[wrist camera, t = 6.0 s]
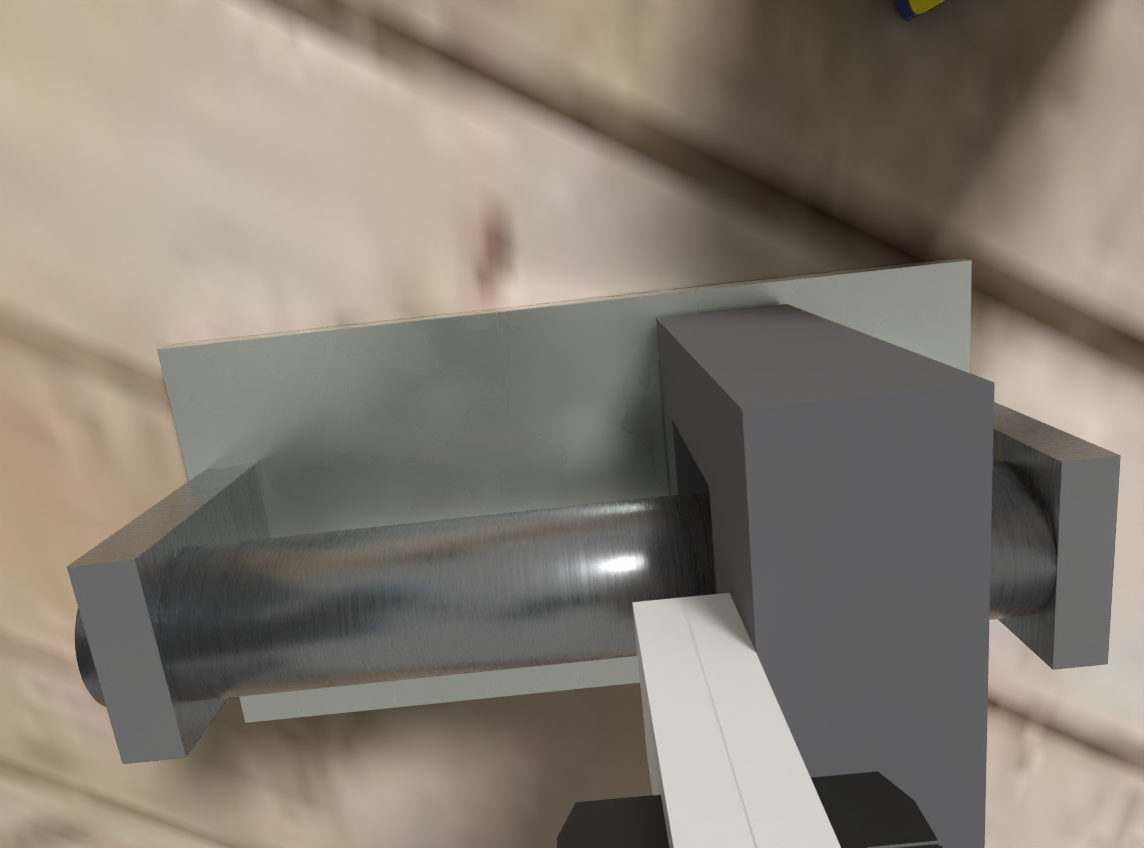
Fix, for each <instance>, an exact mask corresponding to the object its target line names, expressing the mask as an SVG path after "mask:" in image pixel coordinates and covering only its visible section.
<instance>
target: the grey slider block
mask: <svg viewBox="0 0 1144 848" xmlns="http://www.w3.org/2000/svg"><path fill="white" fill-rule="evenodd" d="M656 322H657V334H658V347H659V359H660V371H661V383H662V395H663V407H664V420H665V432H666V444H667V456H668V468H669V481H670V493H671V495H680V494H689V493H699V492H708V491H710V505H711V520H712V534H713V548H714V563H715V577H716V592H717V594H722V593H730V595H731V597H732V600H733V602H734V604H735V606H736V609H737V611H738V613H739V615H740V617H741V620H742V622H743V624H744V626H745V629H746V631H747V633H748V635H749V638H750V640H751V642H752V644H753V647H754V649H755V651H756V654H757V656H758V658H759V661H760V663H761V665H762V667H763V670H764V672H765V674H766V677H767V679H768V681H769V683H770V686H771V688H772V690H773V693H774V695H775V697H776V700H777V702H778V704H779V706H780V709H781V711H782V713H783V716H784V718H785V720H786V722H787V725H788V727H789V729H790V732H791V734H792V736H793V739H794V741H795V743H796V745H797V748H798V750H799V752H800V755H801V757H802V759H803V762H804V764H805V766H806V768H807V771H808V773H809V775H810V778H811V777H822V776H833V775H843V774H854V773H865V772H875V771H878V772H880V773H881V774H882V775H883V776H885V777H886V778H887V779H888V780H890V781H891V782H892V783H893V784H894V785H896V786H897V787H898V788H899V789H901V790H902V791H903V792H904V793H906V794H907V795H908V796H909V797H911V798H912V799H913V800H914V801H915V802H916V804H917V805H918V807H919V809H920V810H921V812H922V814H923V815H924V817H925V819H926V821H927V822H928V824H929V826H930V827H931V829H932V831H933V832H934V834H935V836H936V837H937V841H938V844H939V846H942V847H943V848H984V845H985V798H986V751H987V703H988V656H989V609H990V562H991V514H992V467H993V420H994V382H991V381H989V380H986V379H983V378H981V377H978V376H976V375H973V374H970V373H968V372H965V371H962V370H960V369H957V368H954V367H952V366H949V365H947V364H944V363H941V362H939V361H936V360H933V359H931V358H928V357H925V356H923V355H920V354H918V353H915V352H912V351H910V350H907V349H904V348H902V347H899V346H896V345H894V344H891V343H889V342H886V341H883V340H881V339H878V338H875V337H873V336H870V335H867V334H865V333H862V332H860V331H857V330H854V329H852V328H849V327H846V326H844V325H841V324H838V323H836V322H833V321H831V320H828V319H825V318H823V317H820V316H817V315H815V314H812V313H809V312H807V311H804V310H802V309H799V308H796V307H794V306H791V305H788V304H781V305H772V306H763V307H753V308H744V309H735V310H726V311H717V312H708V313H698V314H689V315H680V316H671V317H662V318H656Z"/></svg>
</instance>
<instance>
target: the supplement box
mask: <svg viewBox="0 0 1144 848" xmlns="http://www.w3.org/2000/svg"><path fill="white" fill-rule="evenodd" d="M943 1H945V0H895V2H896V5H897V8H898V10H899V12H900V15H901V17H902V18H903V19H904V20H906V21H908V20H911V19H913V18H915V17H917V16H918V15H920V14H922V13H924V12H926V11H927V10H929V9H931V8H933V7H934V6H936V5H938V4H940V3H941V2H943Z"/></svg>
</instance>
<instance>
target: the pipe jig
mask: <svg viewBox="0 0 1144 848" xmlns="http://www.w3.org/2000/svg"><path fill="white" fill-rule="evenodd" d="M971 266H972V260H965V259H946V260H937V261H928V262H919V263H910V264H901V265H892V266H882V267H873V268H864V269H855V270H846V271H837V272H828V273H819V274H809V275H800V276H791V277H782V278H773V279H764V280H755V281H746V282H736V283H727V284H718V285H709V286H700V287H691V288H682V289H673V290H663V291H654V292H645V293H636V294H627V295H618V296H609V297H600V298H590V299H581V300H572V301H563V302H554V303H545V304H536V305H527V306H517V307H508V308H499V309H490V310H481V311H472V312H463V313H454V314H444V315H435V316H426V317H417V318H408V319H399V320H390V321H381V322H371V323H362V324H353V325H344V326H335V327H326V328H317V329H308V330H298V331H289V332H280V333H271V334H262V335H253V336H244V337H234V338H225V339H216V340H207V341H198V342H189V343H180V344H172V345H169V346H166V347H163V348H160V349H157V351H158V355H159V359H160V363H161V368H162V372H163V376H164V380H165V384H166V389H167V393H168V397H169V401H170V406H171V410H172V414H173V418H174V423H175V427H176V431H177V435H178V440H179V444H180V448H181V452H182V457H183V461H184V465H185V469H186V474H187V478H188V482H187V483H186V484H184V485H183V486H181V487H180V488H178V489H177V490H176V491H174V492H173V493H171V494H170V495H169V496H167V497H166V498H164V499H163V500H161V501H160V502H159V503H157V504H156V505H154V506H153V507H151V508H150V509H149V510H147V511H146V512H144V513H143V514H141V515H140V516H139V517H137V518H136V519H134V520H133V521H131V522H130V523H129V524H127V525H126V526H124V527H123V528H121V529H120V530H119V531H117V532H116V533H114V534H113V535H111V536H110V537H109V538H107V539H106V540H104V541H103V542H102V543H100V544H99V545H97V546H96V547H94V548H93V549H92V550H90V551H89V552H87V553H86V554H84V555H83V556H82V557H80V558H79V559H77V560H76V561H74V562H73V563H72V564H70V565H69V566H67V569H68V572H69V576H70V579H71V583H72V586H73V590H74V593H75V597H76V601H77V604H78V611H77V616H76V625H75V649H76V657H77V662H78V667H79V671H80V674H81V676H82V679H83V682H84V684H85V686H86V688H87V689H88V691H89V692H90V694H91V695H92V696H93V698H94V699H95V700H96V701H97V702H99V703H100V704H101V705H103V706H105V707H107V710H108V714H109V717H110V721H111V724H112V728H113V732H114V735H115V739H116V742H117V746H118V749H119V753H120V756H121V760H122V763H123V764H128V763H137V762H147V761H157V760H167V759H177V758H186V757H187V756H188V754H189V753H190V751H191V750H192V748H193V747H194V746H195V744H196V743H197V741H198V740H199V738H200V737H201V736H202V734H203V733H204V731H205V730H206V728H207V727H208V726H209V724H210V723H211V721H212V720H213V718H214V717H215V716H216V714H217V713H218V711H219V710H220V708H221V707H222V706H223V704H224V703H225V701H226V700H227V698H232V697H239V698H240V702H241V707H242V711H243V715H244V719H245V723H249V722H259V721H269V720H278V719H288V718H298V717H308V716H318V715H327V714H337V713H347V712H357V711H367V710H376V709H386V708H396V707H406V706H416V705H425V704H435V703H445V702H455V701H465V700H474V699H484V698H494V697H504V696H514V695H523V694H533V693H543V692H553V691H563V690H572V689H582V688H592V687H602V686H612V685H621V684H631V683H640V677H639V667H638V656H637V646H636V635H635V625H634V614H633V604H632V602H641V601H651V600H661V599H671V598H682V597H692V596H702V595H712V594H717V592H716V577H715V563H714V548H713V534H712V520H711V505H710V491H708V492H699V493H689V494H680V495H671V493H670V481H669V468H668V456H667V444H666V432H665V420H664V407H663V395H662V383H661V371H660V359H659V347H658V334H657V322H656V318H662V317H671V316H680V315H689V314H698V313H708V312H717V311H726V310H735V309H744V308H753V307H763V306H772V305H781V304H788V305H791V306H794V307H796V308H799V309H802V310H804V311H807V312H809V313H812V314H815V315H817V316H820V317H823V318H825V319H828V320H831V321H833V322H836V323H838V324H841V325H844V326H846V327H849V328H852V329H854V330H857V331H860V332H862V333H865V334H867V335H870V336H873V337H875V338H878V339H881V340H883V341H886V342H889V343H891V344H894V345H896V346H899V347H902V348H904V349H907V350H910V351H912V352H915V353H918V354H920V355H923V356H925V357H928V358H931V359H933V360H936V361H939V362H941V363H944V364H947V365H949V366H952V367H954V368H957V369H960V370H962V371H965V372H968V373H970V340H971ZM1119 472H1120V455H1118V454H1115V453H1113V452H1111V451H1108V450H1106V449H1104V448H1101V447H1099V446H1097V445H1094V444H1092V443H1090V442H1087V441H1085V440H1082V439H1080V438H1078V437H1075V436H1073V435H1071V434H1068V433H1066V432H1064V431H1061V430H1059V429H1057V428H1054V427H1052V426H1049V425H1047V424H1045V423H1042V422H1040V421H1038V420H1035V419H1033V418H1031V417H1028V416H1026V415H1024V414H1021V413H1019V412H1016V411H1014V410H1012V409H1009V408H1007V407H1005V406H1002V405H1000V404H998V403H995V402H994V420H993V467H992V514H991V562H990V609H989V620H993V619H998V620H999V621H1001V622H1002V623H1003V624H1004V625H1005V626H1006V627H1007V628H1008V629H1009V630H1010V631H1011V632H1012V633H1014V634H1015V635H1016V636H1017V637H1018V638H1019V639H1020V640H1021V641H1022V642H1023V643H1024V644H1026V645H1027V646H1028V647H1029V648H1030V649H1031V650H1032V651H1033V652H1034V653H1035V654H1036V655H1037V656H1039V657H1040V658H1041V659H1042V660H1043V661H1044V662H1045V663H1046V664H1047V665H1048V666H1049V667H1051V668H1052V669H1053V670H1054V669H1064V668H1074V667H1084V666H1094V665H1103V664H1108V650H1109V634H1110V618H1111V602H1112V585H1113V569H1114V553H1115V537H1116V521H1117V504H1118V488H1119Z"/></svg>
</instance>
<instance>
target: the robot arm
mask: <svg viewBox="0 0 1144 848" xmlns="http://www.w3.org/2000/svg"><path fill="white" fill-rule="evenodd" d="M632 604H633V614H634V625H635V635H636V646H637V656H638V667H639V677H640V688H641V698H642V709H643V719H644V730H645V741H646V751H647V760H648V767H649V774H650V781H651V787H652V794H653V795H651V796H640V797H630V798H619V799H608V800H598V801H587V802H576V803H575V805H574V807H573V809H572V811H571V813H570V814H569V816H568V818H567V820H566V822H565V824H564V826H563V828H562V830H561V831H560V833H559V835H558V838H557V848H943V847H942V846H939V844H938V841H937V837H936V836H935V834H934V832H933V831H932V829H931V827H930V826H929V824H928V822H927V821H926V819H925V817H924V815H923V814H922V812H921V810H920V809H919V807H918V805H917V804H916V802H915V801H914V800H913V799H912V798H911V797H909V796H908V795H907V794H906V793H904V792H903V791H902V790H901V789H899V788H898V787H897V786H896V785H894V784H893V783H892V782H891V781H890V780H888V779H887V778H886V777H885V776H883V775H882V774H881V773H880V772H878V771H875V772H865V773H854V774H843V775H833V776H822V777H811V778H810V775H809V773H808V771H807V768H806V766H805V764H804V762H803V759H802V757H801V755H800V752H799V750H798V748H797V745H796V743H795V741H794V739H793V736H792V734H791V732H790V729H789V727H788V725H787V722H786V720H785V718H784V716H783V713H782V711H781V709H780V706H779V704H778V702H777V700H776V697H775V695H774V693H773V690H772V688H771V686H770V683H769V681H768V679H767V677H766V674H765V672H764V670H763V667H762V665H761V663H760V661H759V658H758V656H757V654H756V651H755V649H754V647H753V644H752V642H751V640H750V638H749V635H748V633H747V631H746V629H745V626H744V624H743V622H742V620H741V617H740V615H739V613H738V611H737V609H736V606H735V604H734V602H733V600H732V597H731V595H730V593H722V594H712V595H702V596H692V597H682V598H671V599H661V600H651V601H641V602H632Z"/></svg>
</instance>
